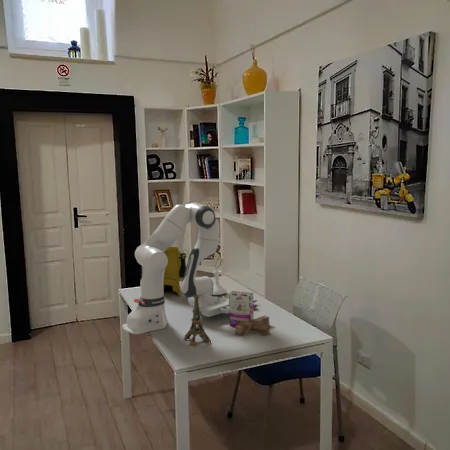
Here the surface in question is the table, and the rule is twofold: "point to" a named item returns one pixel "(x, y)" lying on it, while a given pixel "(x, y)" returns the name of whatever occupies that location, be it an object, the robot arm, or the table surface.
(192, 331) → the eiffel tower
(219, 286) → the flower in vase
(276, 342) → the table surface
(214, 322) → the table surface
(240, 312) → the candy bar box
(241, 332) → the walnut T stop
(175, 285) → the vintage telephone
